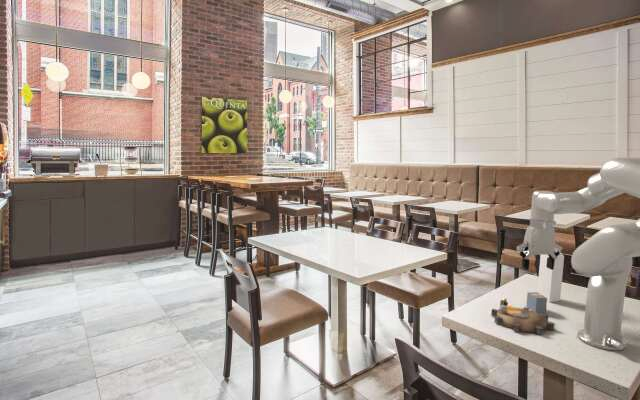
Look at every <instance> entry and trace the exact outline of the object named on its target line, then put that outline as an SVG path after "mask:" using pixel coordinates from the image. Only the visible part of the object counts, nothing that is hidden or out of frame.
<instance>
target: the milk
mask: <svg viewBox="0 0 640 400" xmlns="http://www.w3.org/2000/svg"><path fill="white" fill-rule="evenodd" d="M555 251H556V248H555ZM539 256H540V258H539V268H538V269H539V271H538V282H537V291H536V292H538V293H540V294H541V295H543V296H545V297H546V298H547V303H553V302H554V303H555V302H561V296H562V294H561V293H562V286H563V285H562V284H563V273H564V265H565V262H564V261H565V255H564V254H563V253H562V251H561V252H560V254H559V255H558V256H557V258H556V259H555V262H554V269H553V270H551V269H549V268H547V267H546V266H547V258H548V257H549V256H548V255H539Z"/></svg>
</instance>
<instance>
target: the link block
mask: <svg viewBox="0 0 640 400" xmlns="http://www.w3.org/2000/svg"><path fill="white" fill-rule="evenodd" d="M526 294H527V296H526V306H525V307H526V308H529V310H531V311H534V312H537V313H539V314H546V313H547V303H548V302H547V298H546V297H545V296H543V295H541V294H540V293H538V292H537V291H535V292H534V291H532V292H531V291H528V292H527V293H526Z"/></svg>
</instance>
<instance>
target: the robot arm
mask: <svg viewBox="0 0 640 400" xmlns="http://www.w3.org/2000/svg"><path fill="white" fill-rule="evenodd" d="M623 194H628V195H630V196H633V197H636V198H638V199H640V157H615V158H612V159H609V160H607V161H606V162H604V164H603V165H602V166H601V168H600V170H599V172H598V173H595V174H593V175H591V176H590V177H588V179H587V186H586V187H585V188H582V189H580V190H578V191H569V192H568V191H566V192H565V191H564V192H554V191H550V190H536V191H533V193H532V197H531V207H530V220H529V226H527V228H526V230H525V234H524V238H523V243H521V244H519V245H517V246H516V250H517V253H518V255H519V256H520V258H522V260H521V268H522V269H524V270H526V271H529V269H530V261H531V259H530V257H531V256H533V255H539V256H540V255H548V256H549V257H548V258H547V266H546V267H547V268H549V269H551V270H553V269H554V262H555V259H556V258H557V256H558V255H559V254H560V252H561V253H562V250H563V246H561V245H559V244H557V243H556V231H555V228H554V225H556V224H557V221H555V215H564V214H565V215H566V214H567V215H568V214H580V213H583V212H587V211H589V210H592V209H595V208H596V207H599V206H600V205H603V204H604V203H605V202H607V200H609V199H611V198H612V199H613V198H615V197H617V196H619V195H623ZM555 248H556V251H555ZM636 257H637V258H638V257H640V218H638V219H636V220H635V221H633V222H629V223H621V224H613V225H608V226H605V227H604V228H602V229H600V230H598V231H597V232H596V233H595V234H592V236H590V237H589V238H588V239H587V240H586V241H584V242H583V243H581V244H580V245H579V246H578V247H576V249H575V250H574V251H573V252H572V255H571V259H570V262H571V266H572V268H573V269H574V271H575V272H576V273H577V274H579V275H581V276H583V277H586V278H587V277H588V278H589V280H588V283H587V290H586V299H585V300H586V301H585V310H584V318H583V319H584V321H583V328H582V329H579V330H578V331H577V333H576V336H577V338H578V339H579V340H580V341H581V342H583V343H584V344H585V343H586V344H588V345H589V346H591V347H595V348H598V349H599V348H600V349H603V350H609V351H621V350H625V348H627V347H628V346H629V343H628V342H627V341H625V340H623V338H624V334H623V333H622V323H623V314H624V304H625V298H626V292H627V291H626V289H627V284H628V280H629V277H630V274H631V271H632V267H633V258H636Z"/></svg>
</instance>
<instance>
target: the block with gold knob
mask: <svg viewBox="0 0 640 400" xmlns="http://www.w3.org/2000/svg"><path fill="white" fill-rule="evenodd" d="M499 303H500V304H499V306H500V305H505V306H506V305H507V306H509V305H508V303H509V302H508V301H507V298H502V299H500V302H499Z"/></svg>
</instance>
